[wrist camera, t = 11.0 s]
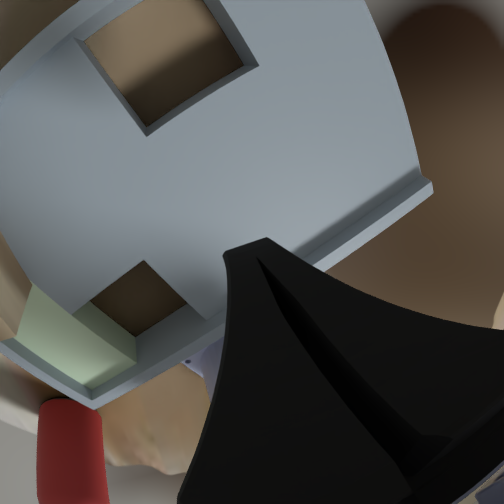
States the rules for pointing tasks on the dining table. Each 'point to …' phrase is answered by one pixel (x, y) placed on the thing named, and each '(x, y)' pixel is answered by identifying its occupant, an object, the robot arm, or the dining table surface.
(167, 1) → the dining table surface
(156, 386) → the dining table surface
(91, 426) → the beer can
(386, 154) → the trap box
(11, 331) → the block
